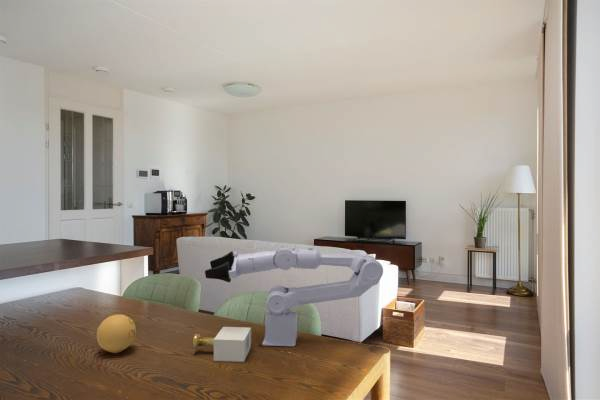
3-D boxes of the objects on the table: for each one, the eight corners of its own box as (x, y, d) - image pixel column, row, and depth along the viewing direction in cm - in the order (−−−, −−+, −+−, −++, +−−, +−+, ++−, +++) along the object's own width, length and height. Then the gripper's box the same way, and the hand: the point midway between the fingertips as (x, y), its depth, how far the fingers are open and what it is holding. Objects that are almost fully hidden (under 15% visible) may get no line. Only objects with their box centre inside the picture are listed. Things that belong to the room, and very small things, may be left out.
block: (250, 347, 115) (251, 327, 115) (244, 361, 105) (244, 340, 105) (223, 346, 116) (223, 326, 116) (213, 360, 106) (213, 339, 106)
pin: (241, 347, 112) (241, 333, 112) (238, 353, 108) (238, 338, 108) (196, 346, 113) (196, 331, 113) (192, 351, 109) (192, 336, 109)
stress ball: (101, 363, 106) (131, 339, 106) (81, 332, 107) (111, 308, 108) (122, 355, 115) (149, 332, 116) (103, 327, 117) (130, 304, 117)
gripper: (253, 242, 126) (210, 248, 126) (249, 258, 112) (200, 265, 112) (257, 263, 127) (214, 270, 127) (253, 282, 113) (205, 289, 113)
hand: (208, 269), depth 120 cm, fingers open, 7 cm apart
